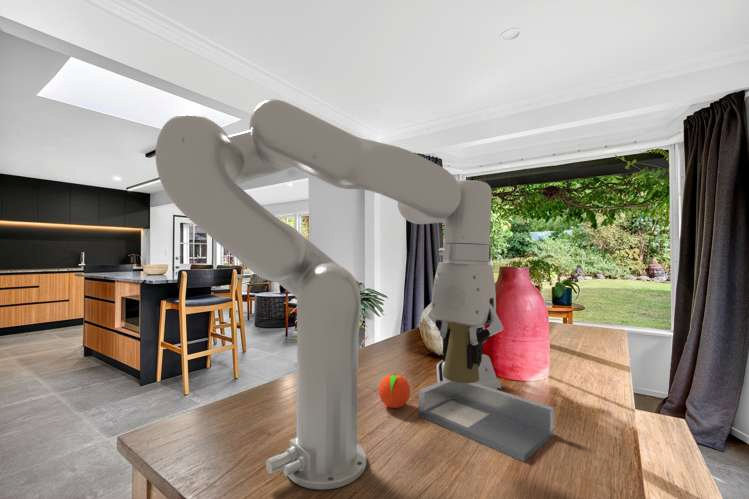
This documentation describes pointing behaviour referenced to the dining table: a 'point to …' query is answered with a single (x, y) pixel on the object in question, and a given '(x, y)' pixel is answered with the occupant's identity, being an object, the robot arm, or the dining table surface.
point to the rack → (488, 416)
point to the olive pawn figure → (459, 356)
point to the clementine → (394, 391)
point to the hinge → (485, 373)
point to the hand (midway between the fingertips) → (461, 362)
